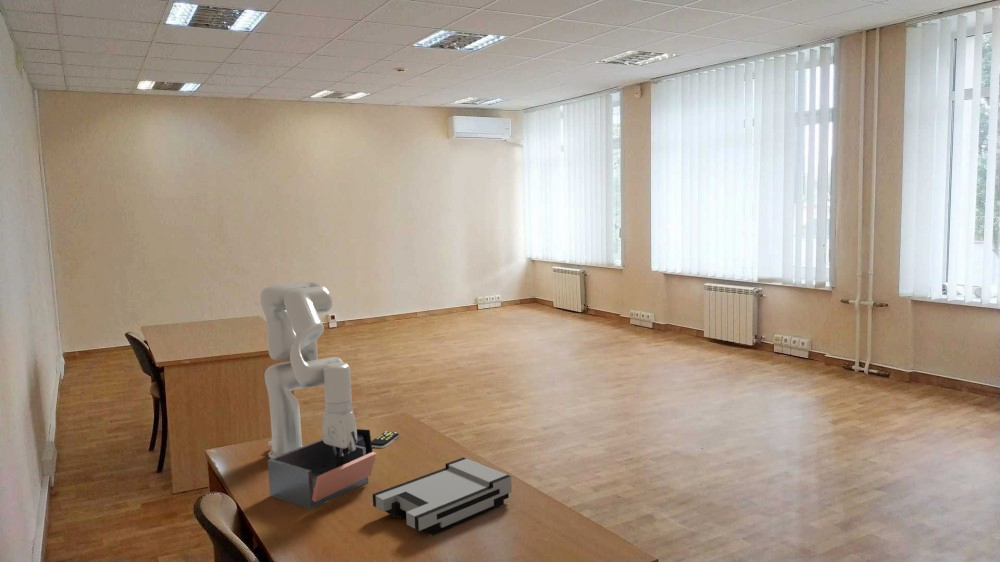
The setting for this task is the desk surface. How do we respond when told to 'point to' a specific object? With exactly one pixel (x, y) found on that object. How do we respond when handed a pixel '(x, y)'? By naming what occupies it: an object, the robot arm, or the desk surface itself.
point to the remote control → (384, 439)
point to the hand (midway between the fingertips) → (342, 467)
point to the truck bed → (306, 473)
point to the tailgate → (343, 476)
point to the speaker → (364, 439)
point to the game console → (446, 496)
